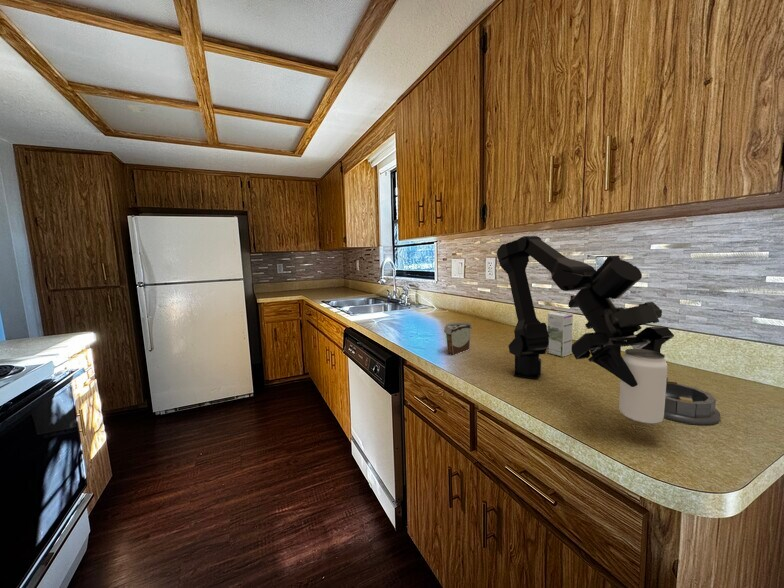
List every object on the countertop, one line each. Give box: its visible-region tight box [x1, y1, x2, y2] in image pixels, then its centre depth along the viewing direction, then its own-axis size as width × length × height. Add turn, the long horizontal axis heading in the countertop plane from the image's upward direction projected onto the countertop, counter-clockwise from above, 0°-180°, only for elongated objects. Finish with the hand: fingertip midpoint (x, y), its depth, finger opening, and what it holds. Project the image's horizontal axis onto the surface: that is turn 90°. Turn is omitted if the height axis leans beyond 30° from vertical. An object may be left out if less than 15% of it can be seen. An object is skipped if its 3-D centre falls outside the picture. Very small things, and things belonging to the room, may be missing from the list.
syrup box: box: [546, 310, 574, 358], centre depth 107 cm, size 6×6×14 cm
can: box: [618, 348, 668, 425], centre depth 57 cm, size 6×6×12 cm
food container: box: [443, 322, 473, 356], centre depth 115 cm, size 12×6×10 cm, turn 130°
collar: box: [664, 379, 721, 426], centre depth 67 cm, size 13×13×5 cm
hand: (650, 383), depth 56 cm, fingers closed on can, 6 cm apart
